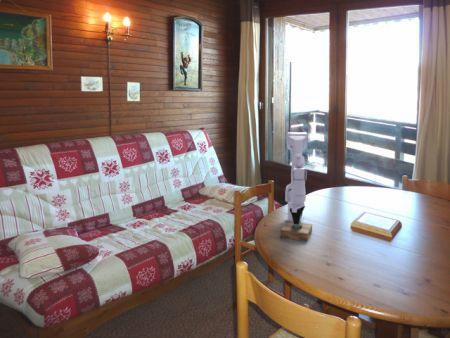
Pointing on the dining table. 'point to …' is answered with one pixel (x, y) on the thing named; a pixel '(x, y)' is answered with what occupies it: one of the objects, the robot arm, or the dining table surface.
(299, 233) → the socket block
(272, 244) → the dining table surface
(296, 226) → the peg
